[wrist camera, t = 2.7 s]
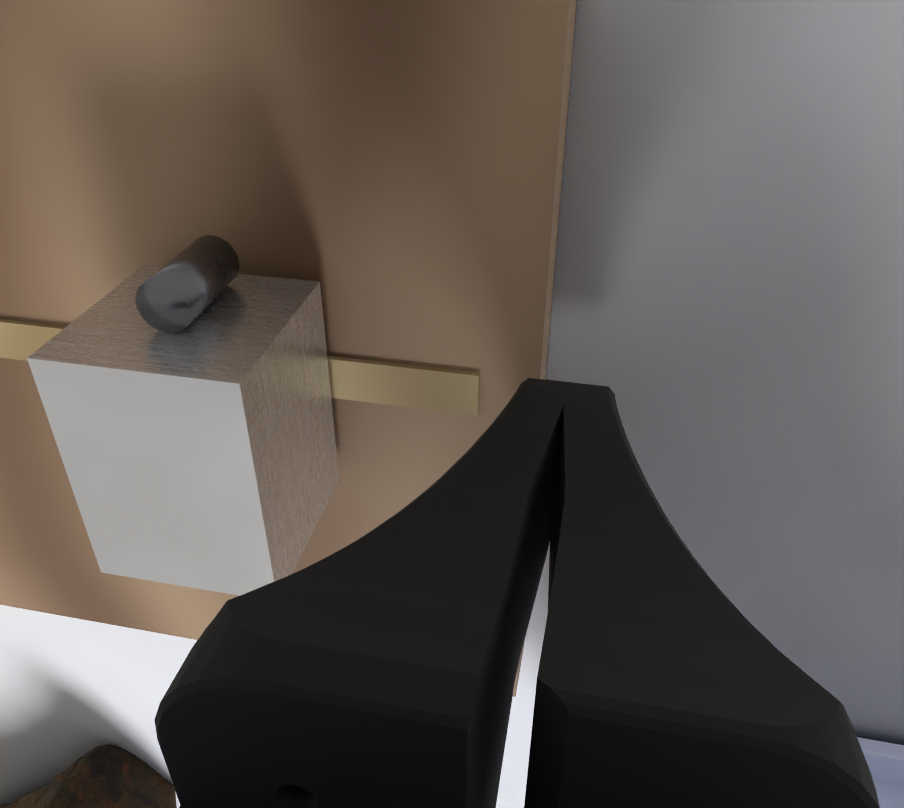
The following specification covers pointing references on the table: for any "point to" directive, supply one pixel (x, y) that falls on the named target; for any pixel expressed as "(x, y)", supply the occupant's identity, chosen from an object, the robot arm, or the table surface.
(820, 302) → the table surface
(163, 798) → the hand tool
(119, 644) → the table surface
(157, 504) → the white rectangular block
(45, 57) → the wooden board
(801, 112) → the table surface
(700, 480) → the table surface
